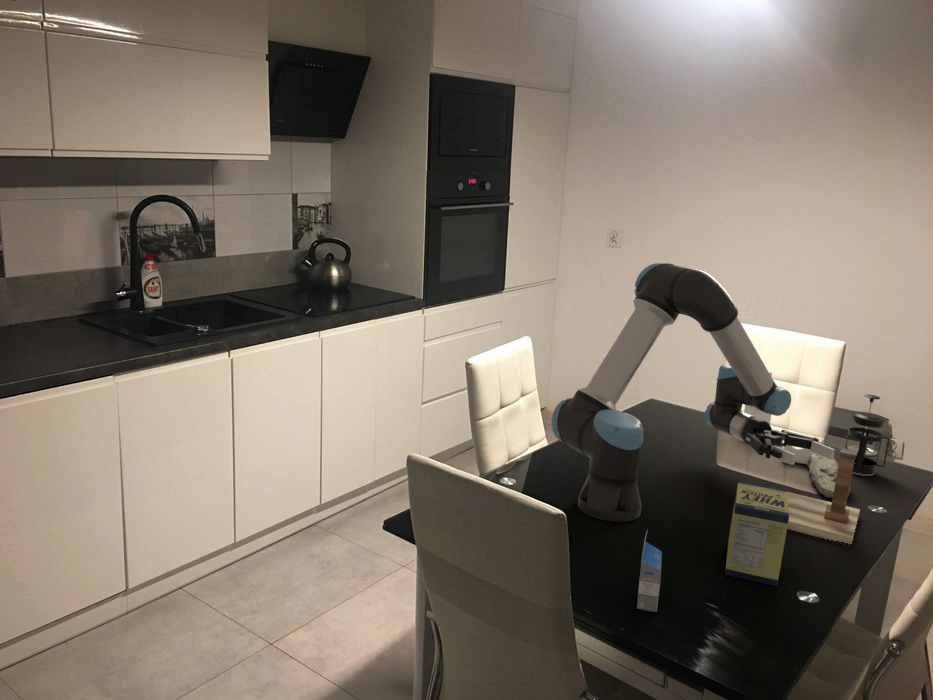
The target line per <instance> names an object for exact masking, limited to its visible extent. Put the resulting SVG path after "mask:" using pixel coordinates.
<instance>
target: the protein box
mask: <svg viewBox="0 0 933 700" xmlns="http://www.w3.org/2000/svg"><path fill="white" fill-rule="evenodd" d="M787 492H788V490H786V489H785V490H784V489H780V488H775V487H769V486H763V485H759V484H752V483H748V482H743V481H737V486H736V493H735V498H734V504H733V510H732V517H731V521H730V528H729V534H728V540H727V541H728V542H727V551H726V559H725V560H726V562H725V572H724V575H725V576H727V577H728V576H729V577H734V578H738V579H742V580H746V581H747V580H748V581H752V582H756V583H759V584H765V585H768V586H769V585H770V586H773V587H777V586H778V582H779V577H780V571H781V566H782V559H783V554H784V548H785V543H786V538H787V533H788V532H787V531H788V529H787V527H788V521H789V510H788V496H787Z"/></svg>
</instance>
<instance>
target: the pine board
mask: <svg viewBox="0 0 933 700" xmlns="http://www.w3.org/2000/svg"><path fill="white" fill-rule="evenodd" d="M787 496H788V510H789V521H788V527H787V530H790V531H794V532H798V533H801V534H805V535H808V536H809V535H810V536H812V537H816V538H819V537H820V538H821V539H823V538H824V540H827V539H829V540H828V541H831V540H833V541H832V542H835V541H839V542H844V543H848V544H852V545H853V542H852V541H854V538H853V537H854V536H855V534H856V530H855V529H856V528H857V526H856V525H858V522H857V521H859V517H860V511H861V509H860V508H856V507H851V506H847V505H846V508H845V509H849V510H850V512H849V518H848V521H847V524H843V523H840V522H836V521H832V520H828V519H824V516H825V511H826V508H827V505H828V504H829V505H832V501H826V500H822V499H818V498H814V497H810V496H806V495H801V494H799V493H798V494H797V493H793V492H790V491H787ZM854 533H855V534H854Z"/></svg>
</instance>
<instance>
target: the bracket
mask: <svg viewBox="0 0 933 700" xmlns="http://www.w3.org/2000/svg"><path fill="white" fill-rule="evenodd" d="M782 443H784V441H783V440H782ZM780 448H782V449H784V450H786V451H789V452H791V453H793V454H795V460H794V465H795V464H796V463H797V464H804V465H807V463H808V461H809V455H810V454H811V449H805V448H800V447H794V446H789V445H787V446H780ZM781 462H782V463H786V462H784V461H781ZM786 464H787V463H786Z"/></svg>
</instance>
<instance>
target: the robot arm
mask: <svg viewBox="0 0 933 700" xmlns="http://www.w3.org/2000/svg"><path fill="white" fill-rule="evenodd" d="M634 287H635V289H634V295H635V298H634V299H633V305H634V310H633V312H632V313H631V315H630V317H629V318H628V320H627V321H626V323H625V325H624V327H623V328H622V330H621V331H620V333H619V335H618V336H617V338H616V339H615V341H614V342H613V343H612V345H611V347H610V349H609V350H608V352H607V354H606V356H605V357H604V358H603V360H602V361H601V363H600V365H599V366H598V368H597V370H596V371H595V372H594V375H593V376H592V377H591V380H590V381H589V382H588V384H587V386H585V387H583V388H578V389H577V391H576V392H575V394H574V395H573V396H572V397H568V398H565V399H562V400H561V401H560V402H558V404H557V405H556V407H555V408H554V410H553V413H552V416H551V427H552V429H551V430H552V432H553V434H554V436H555V438H556V439H557V440H558V441H560V442H561V443H563V444H564V446H567V448H570V449H573V450H574V451H576V452H577V453H580V454H582V455H584V456H585V457H587V458H589V466H588V475H587V478H586V479H585V482H584V483H583V485H582V488H581V490H580V492H579V494H578V497H577V498H578V500H577V508H578V509H579V510H580V511H581V512H582V513H584V514H585V515H587V516H588V517H591V518H595V519H597V520H601V521H605V522H613V523H625V522H632V521H634V520H637V519H638V518H639V517H640V516H641V513H642V512H641V511H642V502H641V495H640V490H639V486H638V478H639V477H638V476H639V470H640V463H641V456H642V455H641V454H642V450H643V444H644V442H643V441H644V437H643V436H644V427H643V424H642V422H641V420H640V419H638V418H637V417H636V416H634V415H632V414H630V413H628V412H623V411H622V412H621V411H620V410H618V409H617V406H616V405H617V404H618V402H619V400H620V399H621V397H622V396H623V394H624V392H625V390H626V389H627V387H628V386H629V384H630V382H631V381H632V379H633V377H635V374H636V373H637V372H638V369H639V368H640V366H641V365H642V364H643V362H644V360H645V359H646V357H647V355H648V353H649V352H650V350H651V349H652V348H653V345H654V344H655V342H656V341H657V339H658V338H659V336H660V334H661V333H662V331H663V329H664V328H665V327H667V326H671V325H673V324H674V323H675V321H676V320H677V318H678V317H679V315H683V316H687V317H690V318H691V319H693V320H695V321H696V322H697V323H698V324H699V325H700V327H701V328H702V330H703V331H705V332H706V333H707V332H708V333H710V336H712V339H713V340H714V342H715V344H716V345H717V347H718V348H719V350H720V352H721V353H722V354H723V357H724V358H725V359H726V361H727V363H725V364H721V365H720V366H719V369H718V374H717V378H716V387H715V396H714V398H715V399H714V401H711V402H710V403H708V405H707V407H706V409H705V410H704V414H703V416H704V421H705V422H706V424H707V425H708V426H710V427H712V428H714V429H715V430H716V431H719V432H721V433H723V434H726V435H728V436H731V437H733V438H735V439H738V440H739V442H740V443H742V442H745V444H747V445H749V446H750V447H751V448H752V449H753V450H754V451H755V452H756V453H757V454H758V455H759V456H764V457H765V459H771V457H773V458H775V459H777V460H779V461H781V462H782V461H784V462H786V464H788V465H790V466H794V465H795V464H794V460H795V454H793V453H791V452H789V451H786V450H784V449H782V448H781V446H787V445H789V446H794V447H800V448H805V449H810V452H812V453H816V454H819V455H821V456H823V457H826V458H828V459H830V460H833V457H834V458H835V450H836V449H835V448H832V447H830V446H827V445H826V444H823V443H820V442H819V441H820V439H819V438H817V437H815V436H814V437H812V436H808V435H804V434H799V433H796V432H791V431H789V430H786V429H781V431H778V430H776V429H772V426H771V423H770V424H769V423H768V422H766V421H764V420H762V419H759V418H757V417H755V416H752V415H750V414H747V413H745V412H744V411H742V408H743V405H744V406H745V405H747V406H750V407H752V408H755V409H758V410H760V411H763V412H765V413H767V414H772V415H773V416H775V417H776V416H777V417H778V416H782V415H784V414H786V413H787V411H788V410H789V409H790V406H791V405H792V404H791V403H792V394H791V392H789V391H788V390H787V389H785V388H783V387H782V386H778V385H777V383H776V381H775V380H774V379H773V377H771V375H770V374H769V370H768V369H767V367H766V364H764V362H763V360H762V358H761V356H760V355H759V352H758V351H757V349H756V347H755V346H754V344H753V342H752V340H751V338H750V336H749V335H748V334H747V332H746V330H745V328H744V326H743V324H742V323H741V321H740V319H739V318H738V315H739V310H738V308H737V306H736V304H735V302H734V300H733V299H732V297H731V296H730V294H729V293H728V291H727V290H726V289H725V288H724V287H723V286H722V285H721V284H720V282H718V280H716V279H715V278H714V277H713V276H712V275H710V274H709V273H707V272H706V271H704V270H701V269H696V268H689V267H685V266H681V265H675V264H673V263H668V262H666V263H665V262H664V263H663V262H657V263H655V262H654V263H653V264H649V265H648V266H646V267H644V269H642V270H641V271H640V273H639V274H638V276H637V278H636V280H635V283H634ZM773 380H774V381H773ZM775 383H776V384H775ZM772 415H771V416H772ZM782 440H783V441H784V443H782ZM779 446H780V447H779ZM764 454H765V455H764ZM784 462H783V463H784Z"/></svg>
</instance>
